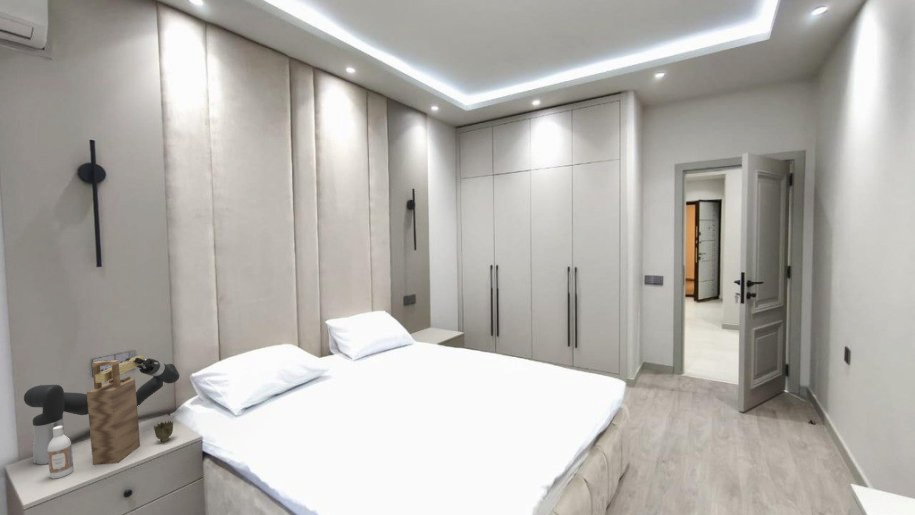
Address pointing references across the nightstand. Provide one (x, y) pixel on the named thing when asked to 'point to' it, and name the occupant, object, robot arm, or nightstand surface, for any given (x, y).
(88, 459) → the nightstand surface
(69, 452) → the bath foam
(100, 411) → the walnut stand
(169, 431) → the cup
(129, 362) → the gold square bar
